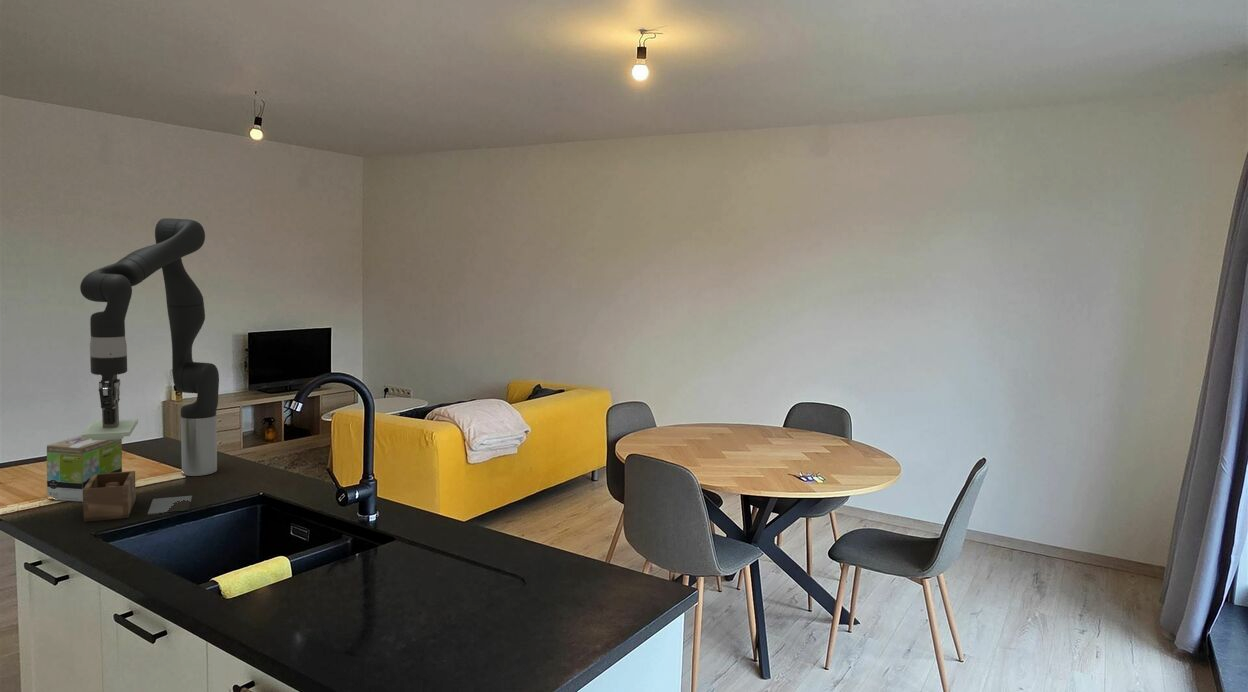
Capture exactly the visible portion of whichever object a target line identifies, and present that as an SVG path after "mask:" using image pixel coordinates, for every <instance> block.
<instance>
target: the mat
mask: <svg viewBox="0 0 1248 692" xmlns="http://www.w3.org/2000/svg"><path fill="white" fill-rule="evenodd" d="M192 499H193V495H183V496H171V497H170V496H169V497H161V498H160V497H159V498H158V497H157V498H153V499H152V501H151V503H150V506H149V509H148V512H147V515H148V516H150V515H160V514H159V513H162V514H165V513H164V512H167V511H168V510H169V508H171V506H173V505H174V504H173V503H175V502H177V501H180V502H181V501H183V500H185V501H187V500H188V501H190V502H192ZM177 503H178V502H177Z"/></svg>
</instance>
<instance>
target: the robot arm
mask: <svg viewBox="0 0 1248 692" xmlns="http://www.w3.org/2000/svg"><path fill="white" fill-rule="evenodd" d="M154 228H155V230H154V238H155V240H154V241H155V244H152V245H151V244H150V245H148V246H145V247H141V248H139V249H136V250H134V251H132V252H130V253H129V254H126V255H125V256H124V257H122V258H120V259H119V260H118V261H117V262H114V263H112V264H108V265H106V266H103V267H100V268H98V269H95V270H93V271H91V272H88V274H87V275H85V276H84V278H82V281H81V283H80V286H79V289H80V293H81V295H82V296H83V298H85V299H86V300H88V301H91V302H96V303H97V302H98V303H106V306H105V308H104V310H103V311H97V312H94V313H92V314H91V315H90V319H89V320H90V321H89V323H90V326H89V327H90V342H89V356H90V357H89V360H90V361H89V362H90V373H91V374H92V375H95V376H99V375H100V376H101V380H100V381H99V382H98V393H99V400H100V408H101V410H102V409H103V410H104V424H114V423H115V408H116V406H115V402H118V405H119V402H120V400H121V399H120V395H121V392H120V391H121V387H120V386H121V379H120V378H118V375H122V374H123V375H124V374H126V373H127V372H128V348H127V347H128V346H127V340H126V323H125V322H126V321H125V320H126V316H127V312H128V309H129V305H130V302H131V299H132V296H133V295H132V294H133V287H134V286H137V285H139V284H140V283H142V282H143V281H145V280H146V279H148V278H149V277H150V276H151V275H153V274H154V273H156V272H157V271H159V270H162V271H161V272H162V275H163V276H162V277H163V281H164V288H165V289H164V290H165V297H166V299H165V300H166V309H167V316H168V322H169V330H170V336H171V337H170V338H171V349H172V350H171V351H172V352H171V353H172V355H171V358H172V359H171V362H172V364H171V365H172V366H171V367H172V369H171V370H172V371H171V373H172V381H173V385H174V388H175V389H176V390H177V391H178V392H179V393H185V394H197V395H196V396H197V397H196V400H195V401H194V402H193V403H188V404H186V405H183V406H181V407H180V408H181V409H180V440H181V441H180V443H181V444H180V445H181V446H180V447H181V448H180V449H181V452H180V453H181V472H182V471H183V472H184V474H185V475H184V476H191V477H198V476H199V477H200V476H206V475H210V474H211V475H212V474H214V473H216V472H217V470H218V448H217V447H218V443H217V442H218V439H217V438H218V436H217V434H218V433H217V430H218V429H217V409H218V404H219V389H220V388H219V386H220V375H219V374H220V373H219V369H218V367H217V366H216V365H215V364H214V363H211V362H197V361H193V360H194V359H193V344H194V341H195V339H196V337H197V336H198V334H199V333H200V331H201V329H202V327H203V325H204V323H205V320H206V311H205V301H204V297H203V294H202V292H201V290H200V288H198V286H197V285H196V284H197V283H195V281H194V280H193V279H192V277H190V275H189V274H188V272H187V270H186V268H185V267H184V263H183V259H182V258H183V257H186V256H189V255H191V254H193V253H195V252H197V251H199V250H200V249H201V248H202V247H203V245H204V243H205V240H206V232H205V229H204V226H203V225H202V224H201V223H200V222H199V221H196V220H193V219H189V218H188V219H187V218H169V217H167V218H164V217H163V218H160V219H159V220H158V221H157V223H156V225H155V227H154ZM106 402H110V403H106Z"/></svg>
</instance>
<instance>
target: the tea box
mask: <svg viewBox="0 0 1248 692" xmlns="http://www.w3.org/2000/svg"><path fill="white" fill-rule="evenodd" d="M122 440H123V439H112V440H93V441H92V438H85V439H82V434H80V435H78V436H75V437H71V438H68V439H64V440H62V441H58V442H54V443H51V444H47V445H46V497H47V496H51V497H53V498H55V499H57V500H56V501H61V502H62V501H63V502H64V501H65V502H82V503H83V489H84V487H85V486H86V484H87V483H88V481H89V480H90V479H91V477H92V476H93V474H99V473H113V472H123V461H122V459H123V452H122V449H123V441H122Z"/></svg>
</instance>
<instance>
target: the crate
mask: <svg viewBox="0 0 1248 692" xmlns="http://www.w3.org/2000/svg"><path fill="white" fill-rule="evenodd" d="M136 490H137V489H136V470H130V471H129V470H127V471H122V472H113V473H99V474H93V476H92V477H91V479H90V480H89V481H88V483H87V484H86V486H85V487H84V489H83V502H82V504H83V505H82V506H83V508H82V509H83V522H84V523H86V522H87V523H88V522H98V521H109V520H119V519H128V518H129V516H130V514H131V511H132V510H133V508H134V505H135V503H136V500H137V499H136V498H137V497H136V495H137V493H136Z"/></svg>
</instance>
